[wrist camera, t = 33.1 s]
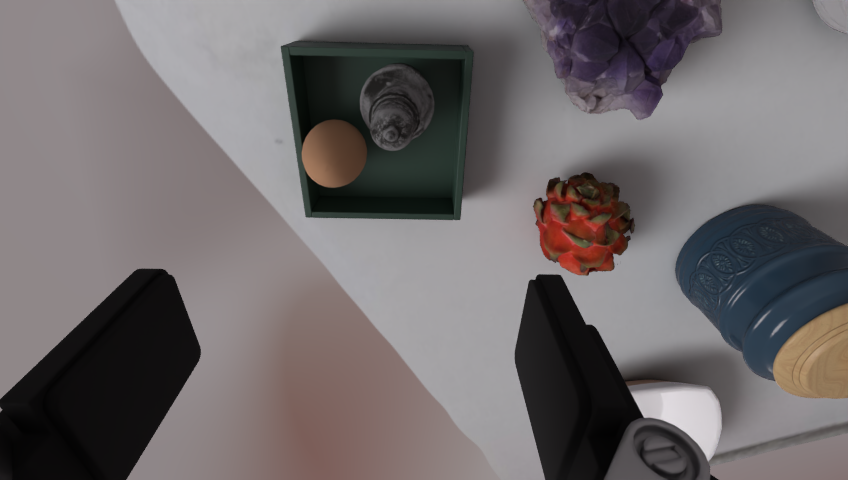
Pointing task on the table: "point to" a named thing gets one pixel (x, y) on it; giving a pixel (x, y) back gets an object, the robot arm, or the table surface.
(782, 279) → the canister
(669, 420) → the bowl
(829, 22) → the lid
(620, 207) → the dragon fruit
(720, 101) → the table surface
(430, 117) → the grey tall stone piece
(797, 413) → the table surface
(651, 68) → the geode
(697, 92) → the table surface
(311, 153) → the egg
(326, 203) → the box
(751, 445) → the table surface
